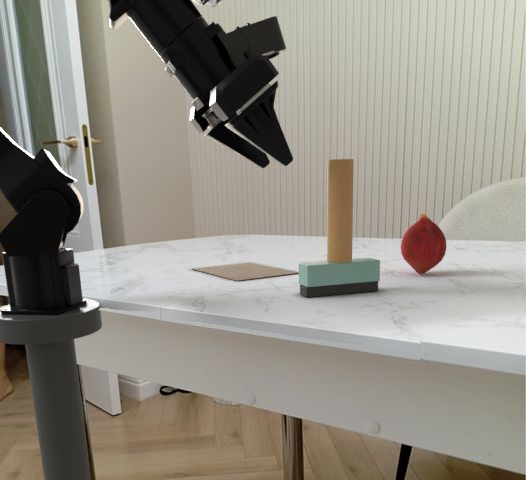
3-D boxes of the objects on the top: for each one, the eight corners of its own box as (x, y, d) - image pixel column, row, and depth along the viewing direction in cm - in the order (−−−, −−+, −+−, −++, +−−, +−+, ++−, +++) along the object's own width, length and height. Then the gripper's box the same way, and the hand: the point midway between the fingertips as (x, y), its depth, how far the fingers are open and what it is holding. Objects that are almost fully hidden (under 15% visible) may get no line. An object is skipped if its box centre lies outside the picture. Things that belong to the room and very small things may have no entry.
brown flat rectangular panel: (299, 273, 83) (299, 272, 83) (237, 281, 78) (237, 280, 78) (248, 263, 94) (248, 262, 94) (191, 269, 89) (191, 268, 89)
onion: (450, 272, 80) (454, 212, 78) (436, 279, 75) (439, 214, 73) (408, 270, 83) (411, 211, 81) (392, 275, 78) (395, 214, 76)
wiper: (307, 298, 65) (307, 159, 61) (298, 294, 68) (297, 160, 64) (380, 291, 68) (383, 158, 64) (368, 287, 70) (371, 159, 66)
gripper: (265, -51, 50) (367, 104, 56) (224, 9, 67) (305, 123, 73) (167, 36, 50) (279, 183, 56) (151, 74, 67) (238, 183, 73)
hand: (277, 164), depth 64 cm, fingers open, 9 cm apart
